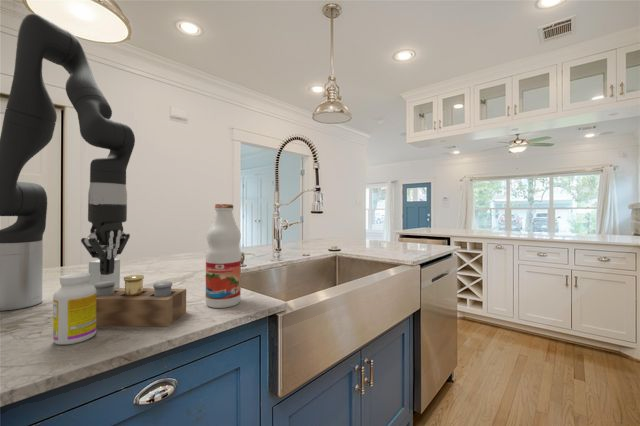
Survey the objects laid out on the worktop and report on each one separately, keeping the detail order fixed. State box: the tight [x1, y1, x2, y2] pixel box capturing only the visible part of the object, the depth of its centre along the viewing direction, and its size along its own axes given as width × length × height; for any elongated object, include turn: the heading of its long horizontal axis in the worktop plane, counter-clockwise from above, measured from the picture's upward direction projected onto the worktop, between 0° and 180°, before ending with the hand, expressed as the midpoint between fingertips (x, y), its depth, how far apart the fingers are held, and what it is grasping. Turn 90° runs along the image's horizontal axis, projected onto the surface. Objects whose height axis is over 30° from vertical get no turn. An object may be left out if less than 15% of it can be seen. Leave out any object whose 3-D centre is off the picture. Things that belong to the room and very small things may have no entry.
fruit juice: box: [205, 203, 242, 309], centre depth 80 cm, size 9×9×28 cm
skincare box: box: [88, 258, 121, 288], centre depth 79 cm, size 6×4×12 cm
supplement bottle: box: [52, 272, 97, 346], centre depth 57 cm, size 7×7×13 cm
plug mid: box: [123, 274, 145, 296], centre depth 68 cm, size 4×4×7 cm
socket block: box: [96, 287, 187, 327], centre depth 68 cm, size 21×9×6 cm, turn 90°
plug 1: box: [94, 281, 115, 296], centre depth 68 cm, size 4×4×7 cm
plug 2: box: [152, 281, 173, 297], centre depth 68 cm, size 4×4×7 cm
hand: (107, 274), depth 69 cm, fingers closed
